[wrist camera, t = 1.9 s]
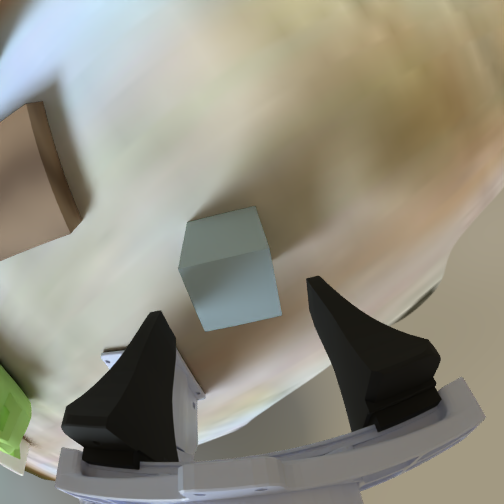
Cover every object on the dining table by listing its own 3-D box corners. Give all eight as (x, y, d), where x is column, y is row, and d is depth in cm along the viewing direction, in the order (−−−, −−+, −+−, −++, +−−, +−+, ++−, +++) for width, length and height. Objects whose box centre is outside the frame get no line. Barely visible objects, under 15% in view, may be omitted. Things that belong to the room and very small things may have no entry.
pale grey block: (266, 263, 21) (282, 315, 16) (206, 277, 21) (205, 331, 16) (255, 205, 18) (269, 247, 14) (187, 221, 18) (178, 268, 14)
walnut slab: (84, 217, 18) (70, 233, 15) (10, 247, 18) (-5, 263, 15) (46, 100, 13) (26, 103, 11) (-27, 153, 13) (-45, 162, 11)
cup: (-11, 418, 35) (-21, 449, 26) (29, 441, 40) (22, 474, 31) (-7, 426, 38) (-15, 455, 29) (30, 447, 42) (24, 477, 34)
